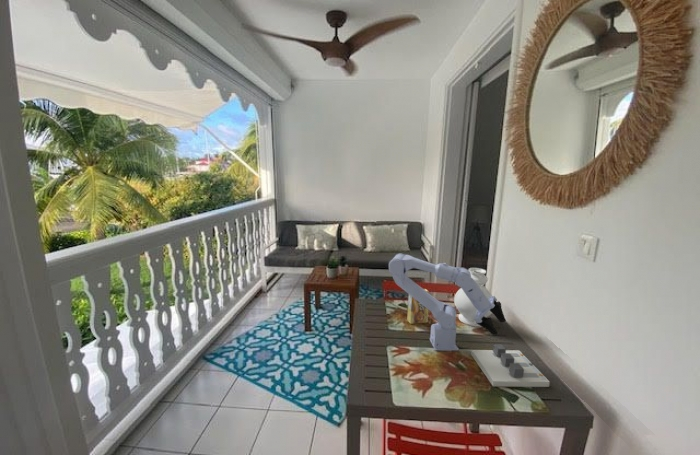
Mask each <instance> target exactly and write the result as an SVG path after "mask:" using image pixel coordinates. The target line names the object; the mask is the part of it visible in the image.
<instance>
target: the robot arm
mask: <svg viewBox="0 0 700 455" xmlns="http://www.w3.org/2000/svg"><path fill="white" fill-rule="evenodd" d="M412 269H417V270H421V271H424V272H428V273H433V274H434V276H435V277H436V278H439V279H441V280H445V281H448V282H452V283H455V285H456V286H457V287H459V288H462V289H463V291H464V293H465V294H466V295H467V297H468V298H469V299H470V301H471V302H472V304H473V305H474V306H475V308H476V309H477V313H476V316H475V318H474V320H475V321H476V323H477V324H478V325H480V326H481V327H482V328H483V329H485V330H486V331H488V332H489V333H490V334H491V335H492V336H494V335H498V334H499V332H498V330H497V329H496V327H495V326H494V324H493V322H492V318H491V317H485V315H486V313H487V312H488V311H489V310H490V311H491V312H492V313H491V314H493V315H494V316H495V318H496V319H497V320H498V321H499V322H500V323H505V322H507V320H506V316H505V315H504V312H503V308H502V302H500V301H498V299H497V297H496V296H495V295H492V297H490V298H489V299H488V298H487V297H486V295H485V294H484V293H483V291H482V290H481V289H480V287H479V286H478V284H477V283H476V282H475V281H474V280H473V278H471V274H470V272H469V271H468V270H469V269H467V268H465V267H464V266H463V267H459V266H456V267H455V266H452V265H448V263H446V262H443V263H442V262H440V263H438V264H435V263H431V262H429V261H426V260H422V259H420V258H417V257H414V256H412V255H409V254H404V253H401V252H400V253H399V252H398V253H397V254H395V255H394V257H393V258H392V259H390V260H389V261H388V272H389V273H390V274H391V277H392V279H393V281H394V283H395V284H396V285H397V286H398V287H399V288H401V289H402V290H403V291H404V292H405V293H407V294H408V296H409V295H411V296H412V297H413V298H414V299H416V300H417V301H418V302H420V303H421V304H422V305H423V306H425V307H426V308H427V309H428V311H429V312H431V315H432V316H433V318H434V320H436V321H437V322H435V323H432V324H431V326H430V335H429V341H430V344H431V345H432V347H433V349H434V350H435V351H453V352H455V351H456V352H457V351H459V347H458V346H457V345H456V337H457V327H458V326H457V323H456V321H457V314H458V312H457V308H455V306H453V305H451V304H447V303H446V302H444V301H441V300H438V299H437V298H435V297H434V296H433V295H431V294H429V293H428V292H426V291H425V290H424V289H425V288H423V287H421V286H420V285H419V284H417V283H416V282H415V281H414V280H412V279H411V278H410V277H409V276H408V271H409V270H412Z"/></svg>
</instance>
